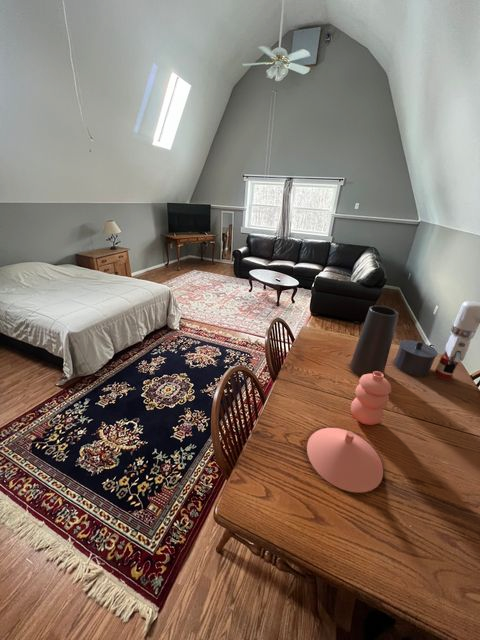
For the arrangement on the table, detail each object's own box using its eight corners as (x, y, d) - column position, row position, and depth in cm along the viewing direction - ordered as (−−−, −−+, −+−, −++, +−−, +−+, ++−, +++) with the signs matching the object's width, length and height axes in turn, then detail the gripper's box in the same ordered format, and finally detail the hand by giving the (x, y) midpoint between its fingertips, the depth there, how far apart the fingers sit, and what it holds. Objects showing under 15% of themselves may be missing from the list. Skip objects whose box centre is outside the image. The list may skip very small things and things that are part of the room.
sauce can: (447, 372, 120) (455, 355, 116) (454, 380, 114) (462, 363, 110) (431, 369, 121) (439, 353, 117) (437, 378, 115) (445, 360, 112)
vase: (344, 369, 119) (359, 308, 106) (358, 358, 127) (374, 301, 115) (375, 384, 110) (395, 320, 97) (388, 371, 118) (408, 311, 106)
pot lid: (428, 344, 124) (431, 336, 122) (442, 361, 111) (446, 353, 109) (394, 340, 126) (397, 332, 125) (404, 356, 114) (407, 347, 112)
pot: (421, 361, 127) (428, 343, 123) (433, 378, 115) (441, 359, 111) (390, 356, 130) (396, 339, 126) (399, 373, 118) (406, 354, 114)
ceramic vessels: (370, 510, 65) (393, 457, 57) (294, 459, 77) (303, 409, 69) (400, 426, 90) (419, 381, 82) (339, 397, 102) (350, 355, 94)
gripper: (480, 343, 100) (461, 381, 107) (468, 325, 114) (452, 360, 122) (456, 338, 103) (439, 375, 110) (447, 321, 117) (433, 356, 124)
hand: (446, 367), depth 116 cm, fingers closed on sauce can, 6 cm apart
